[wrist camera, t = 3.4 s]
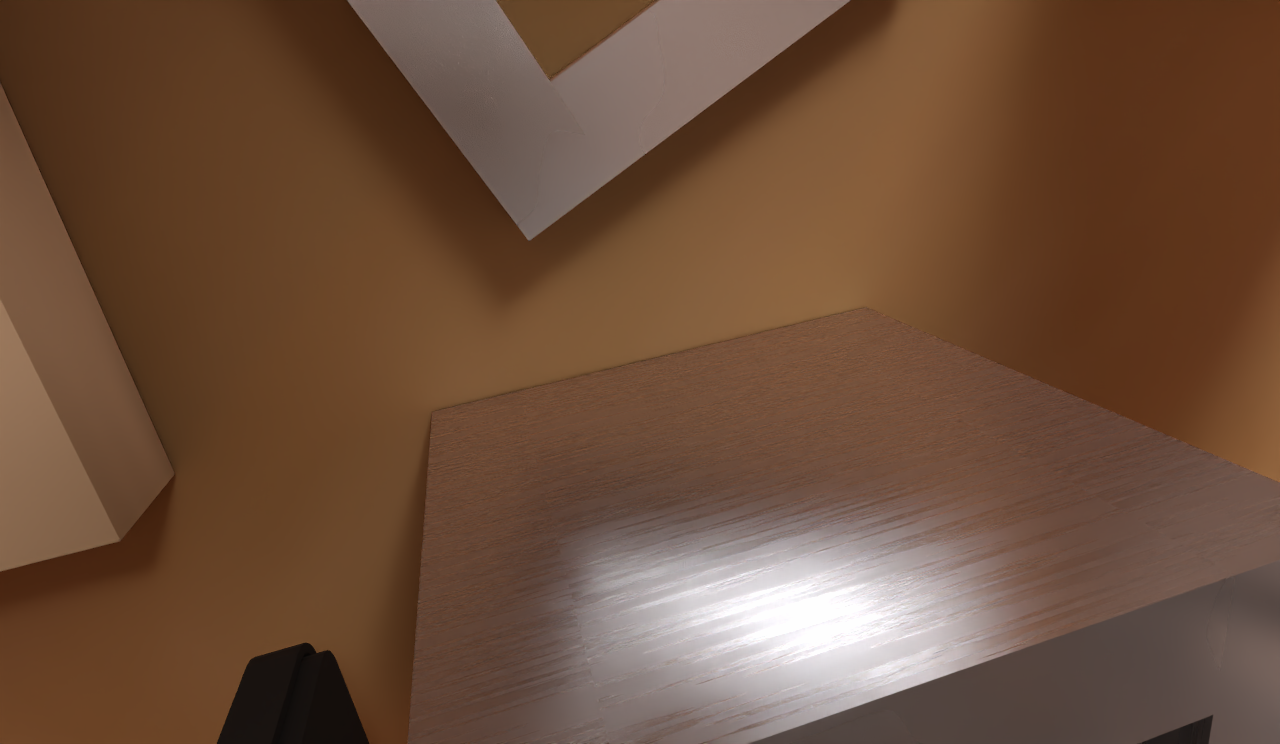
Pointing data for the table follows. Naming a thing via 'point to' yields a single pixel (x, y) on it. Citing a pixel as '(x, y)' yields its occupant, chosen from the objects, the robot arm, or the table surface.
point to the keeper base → (61, 386)
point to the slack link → (576, 86)
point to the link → (837, 558)
